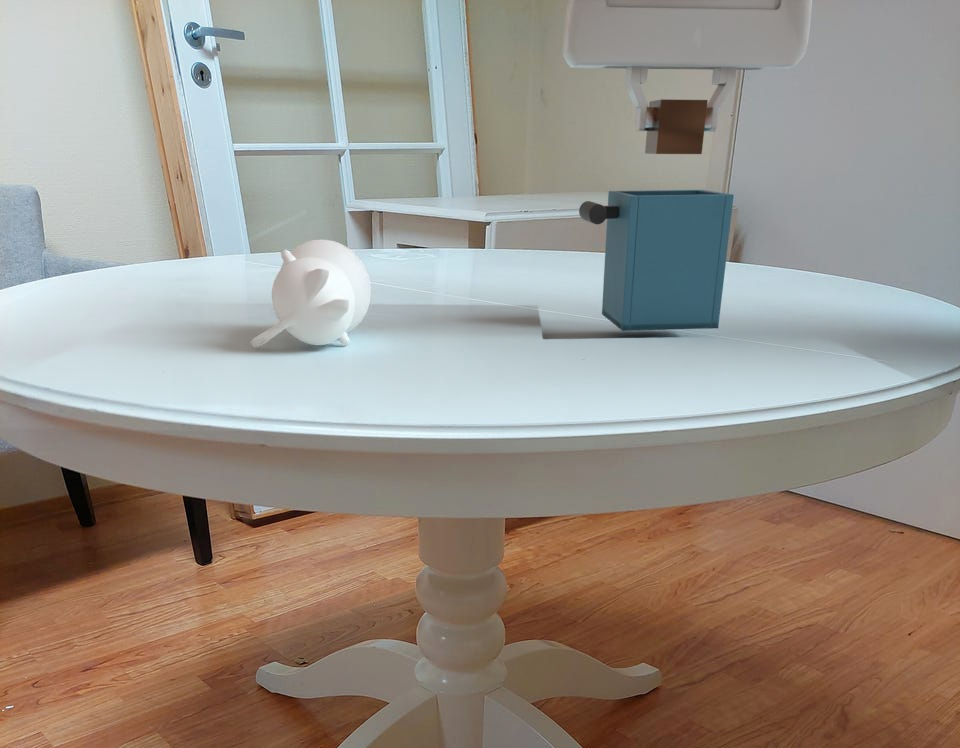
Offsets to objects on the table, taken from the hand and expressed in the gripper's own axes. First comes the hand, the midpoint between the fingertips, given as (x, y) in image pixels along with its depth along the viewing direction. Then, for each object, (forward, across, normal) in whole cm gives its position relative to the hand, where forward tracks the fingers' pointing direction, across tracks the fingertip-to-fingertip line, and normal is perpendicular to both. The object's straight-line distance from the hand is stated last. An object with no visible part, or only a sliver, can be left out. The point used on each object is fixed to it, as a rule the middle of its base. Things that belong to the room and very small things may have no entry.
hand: (675, 131), depth 77 cm
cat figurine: (+16, -32, -7) cm, 36 cm away
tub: (+16, -1, 0) cm, 16 cm away
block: (+2, 0, 0) cm, 2 cm away
